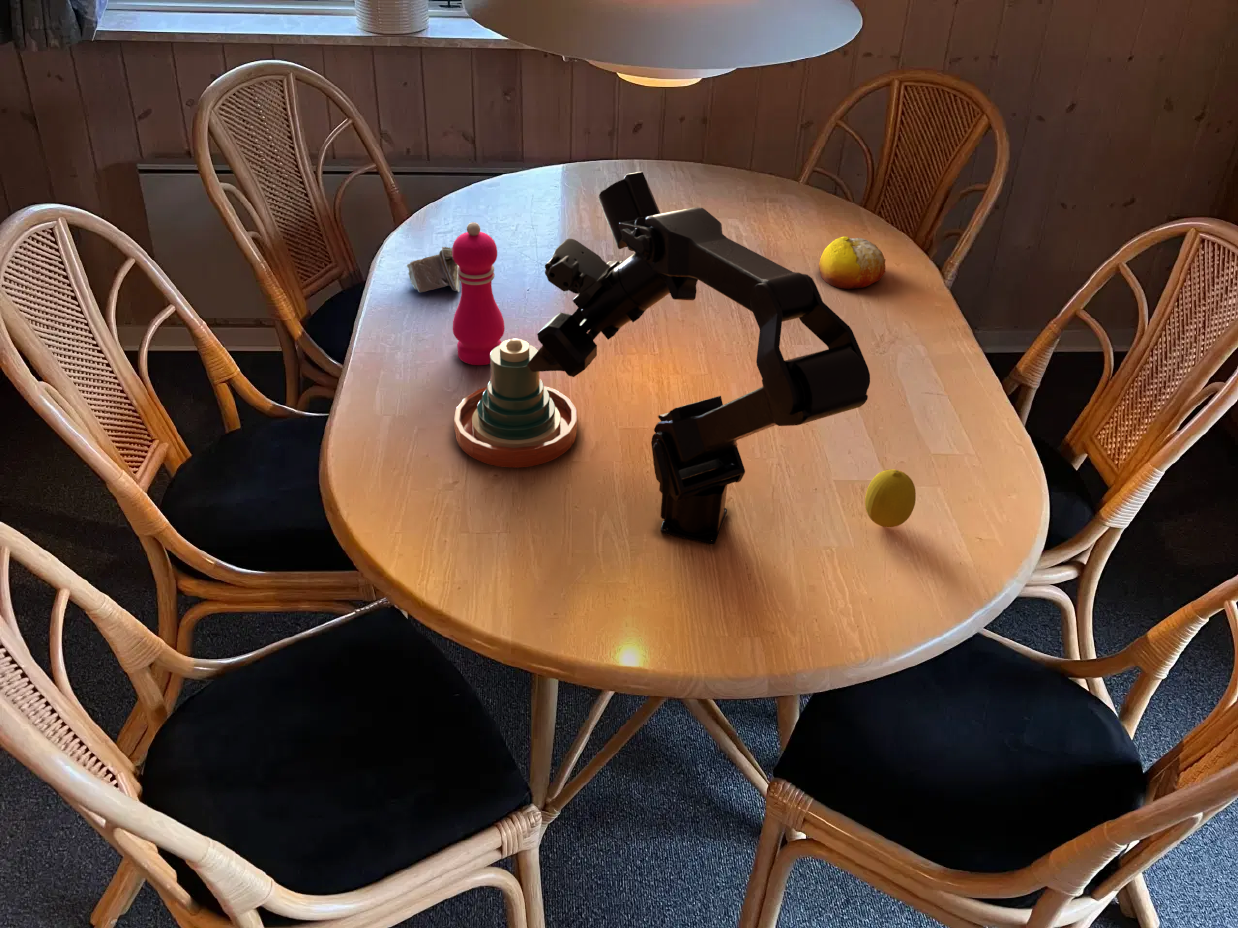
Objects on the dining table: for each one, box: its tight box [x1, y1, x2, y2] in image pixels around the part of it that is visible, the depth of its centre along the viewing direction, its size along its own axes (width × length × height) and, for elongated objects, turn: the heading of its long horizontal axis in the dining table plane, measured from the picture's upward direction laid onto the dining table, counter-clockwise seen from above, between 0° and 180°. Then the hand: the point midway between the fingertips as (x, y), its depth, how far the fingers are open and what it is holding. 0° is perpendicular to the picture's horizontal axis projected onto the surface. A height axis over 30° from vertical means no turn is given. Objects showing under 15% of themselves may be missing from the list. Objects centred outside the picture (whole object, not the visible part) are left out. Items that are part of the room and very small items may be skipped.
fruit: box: [818, 235, 886, 290], centre depth 172 cm, size 11×10×8 cm
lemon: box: [864, 468, 917, 528], centre depth 120 cm, size 6×6×8 cm
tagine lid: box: [472, 338, 561, 448], centre depth 130 cm, size 11×11×13 cm
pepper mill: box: [451, 221, 506, 366], centre depth 144 cm, size 7×7×20 cm
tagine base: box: [453, 385, 578, 468], centre depth 134 cm, size 15×16×3 cm
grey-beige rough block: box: [406, 246, 461, 294], centre depth 165 cm, size 10×7×12 cm
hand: (546, 349), depth 125 cm, fingers open, 9 cm apart
